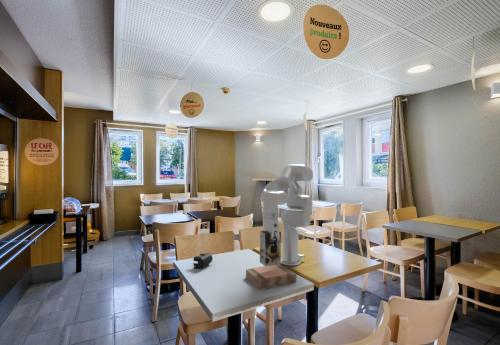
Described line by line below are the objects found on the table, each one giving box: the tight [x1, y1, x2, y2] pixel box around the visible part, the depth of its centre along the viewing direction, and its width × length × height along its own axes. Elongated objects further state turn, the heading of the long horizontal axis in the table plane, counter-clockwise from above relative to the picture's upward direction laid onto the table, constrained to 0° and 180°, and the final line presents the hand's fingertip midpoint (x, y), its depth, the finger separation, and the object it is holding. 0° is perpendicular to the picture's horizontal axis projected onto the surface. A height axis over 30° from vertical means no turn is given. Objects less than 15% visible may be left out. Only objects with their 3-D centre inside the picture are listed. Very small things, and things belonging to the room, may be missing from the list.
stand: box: [245, 264, 297, 291], centre depth 127 cm, size 20×16×4 cm
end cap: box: [192, 252, 213, 270], centre depth 146 cm, size 10×7×7 cm
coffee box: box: [259, 230, 282, 266], centre depth 128 cm, size 9×6×16 cm
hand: (270, 250), depth 128 cm, fingers closed on coffee box, 6 cm apart
